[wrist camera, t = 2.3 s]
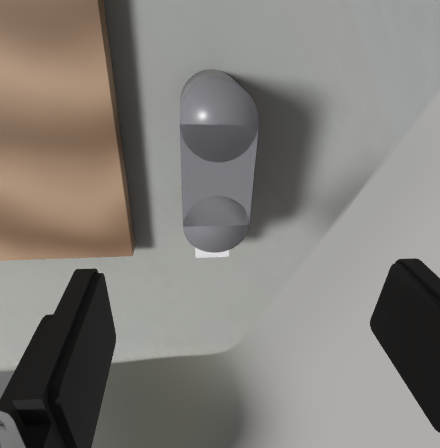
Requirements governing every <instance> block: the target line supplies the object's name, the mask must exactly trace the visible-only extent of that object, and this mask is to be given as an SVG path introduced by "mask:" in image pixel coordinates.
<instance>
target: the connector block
mask: <svg viewBox="0 0 440 448" xmlns="http://www.w3.org/2000/svg"><path fill="white" fill-rule="evenodd" d="M258 128H259V115H258V110H257V107H256V104H255V103H254V101H253V99H252V98H251V96H250V95H249V94H248V93H247V92H246V91H245V90H244V89H243V88H242V87H241V86H240V85H239V84H238V83H237V82H236V81H234V80H233V79H232V78H231V77H230V76H229V75H227V74H226V73H224V72H222V71H218V70H204V71H201V72H198V73H196V74H195V75H193V76H192V77H191V78H190V79H189V80H188V81H187V83H186V84H185V86H184V88H183V90H182V94H181V101H180V143H181V174H182V205H183V230H184V234H185V236H186V238H187V240H188V241H189V242H190V243H191V244H192V245H193V246H194V247H195V254H196V258H203V257H229V250H230V249H232V248H234V247H235V246H237V245H238V244H239V243H240V242H241V241H242V240H243V239H244V238H245V236H246V234H247V232H248V229H249V222H250V211H251V201H252V190H253V180H254V170H255V159H256V149H257V139H258Z"/></svg>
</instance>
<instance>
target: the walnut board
mask: <svg viewBox="0 0 440 448" xmlns="http://www.w3.org/2000/svg"><path fill="white" fill-rule="evenodd" d="M134 248H135V239H134V232H133V224H132V216H131V209H130V201H129V193H128V186H127V178H126V170H125V162H124V155H123V147H122V139H121V132H120V124H119V116H118V109H117V101H116V93H115V86H114V78H113V70H112V62H111V55H110V47H109V39H108V32H107V24H106V16H105V9H104V1H103V0H0V260H30V259H59V258H89V257H118V256H133V252H134Z"/></svg>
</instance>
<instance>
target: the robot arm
mask: <svg viewBox="0 0 440 448" xmlns="http://www.w3.org/2000/svg"><path fill="white" fill-rule="evenodd" d="M370 327H371V330H372V332H373V333H374V335H375V336H376V338H377V340H378V341H379V343H380V344H381V346H382V347H383V349H384V350H385V352H386V354H387V355H388V357H389V358H390V360H391V361H392V363H393V364H394V366H395V367H396V369H397V371H398V372H399V374H400V376H401V377H402V379H403V380H404V382H405V383H406V385H407V386H408V388H409V390H410V391H411V393H412V394H413V396H414V397H415V399H416V401H417V402H418V404H419V405H420V407H421V408H422V410H423V412H424V413H425V415H426V416H427V418H428V419H429V421H430V423H431V424H432V426H433V427H434V428H435V430H437V431H438V432H440V278H439V277H438V276H437V275H436V274H434V273H433V272H432V271H431V270H430V269H429V268H428V267H427V266H426V265H425V264H424V263H423V262H422V261H420V260H419V259H399V260H397V261H396V263H395V264H393V265H392V266H391V268H390V270H389V273H388V276H387V278H386V281H385V283H384V286H383V289H382V291H381V294H380V297H379V299H378V302H377V304H376V307H375V310H374V312H373V315H372V317H371V320H370ZM115 343H116V333H115V327H114V322H113V317H112V312H111V307H110V302H109V297H108V292H107V287H106V281H105V277H104V274H103V273H98V271H97V269H77V270H75V272H74V273H73V275H72V278H71V280H70V282H69V284H68V286H67V288H66V290H65V292H64V294H63V296H62V298H61V300H60V302H59V304H58V306H57V309H56V311H55V313H54V315H46V316H45V317H43V319H42V320H41V322H40V324H39V326H38V327H37V329H36V331H35V333H34V335H33V337H32V339H31V341H30V343H29V345H28V347H27V349H26V351H25V353H24V355H23V356H22V358H21V360H20V362H19V364H18V366H17V368H16V370H15V372H14V374H13V376H12V378H11V380H10V382H9V383H8V385H7V387H6V389H5V391H4V393H3V395H2V397H1V399H0V448H91V446H92V442H93V437H94V434H95V429H96V425H97V421H98V416H99V412H100V408H101V403H102V399H103V395H104V391H105V386H106V382H107V378H108V374H109V369H110V365H111V361H112V356H113V352H114V348H115Z"/></svg>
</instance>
